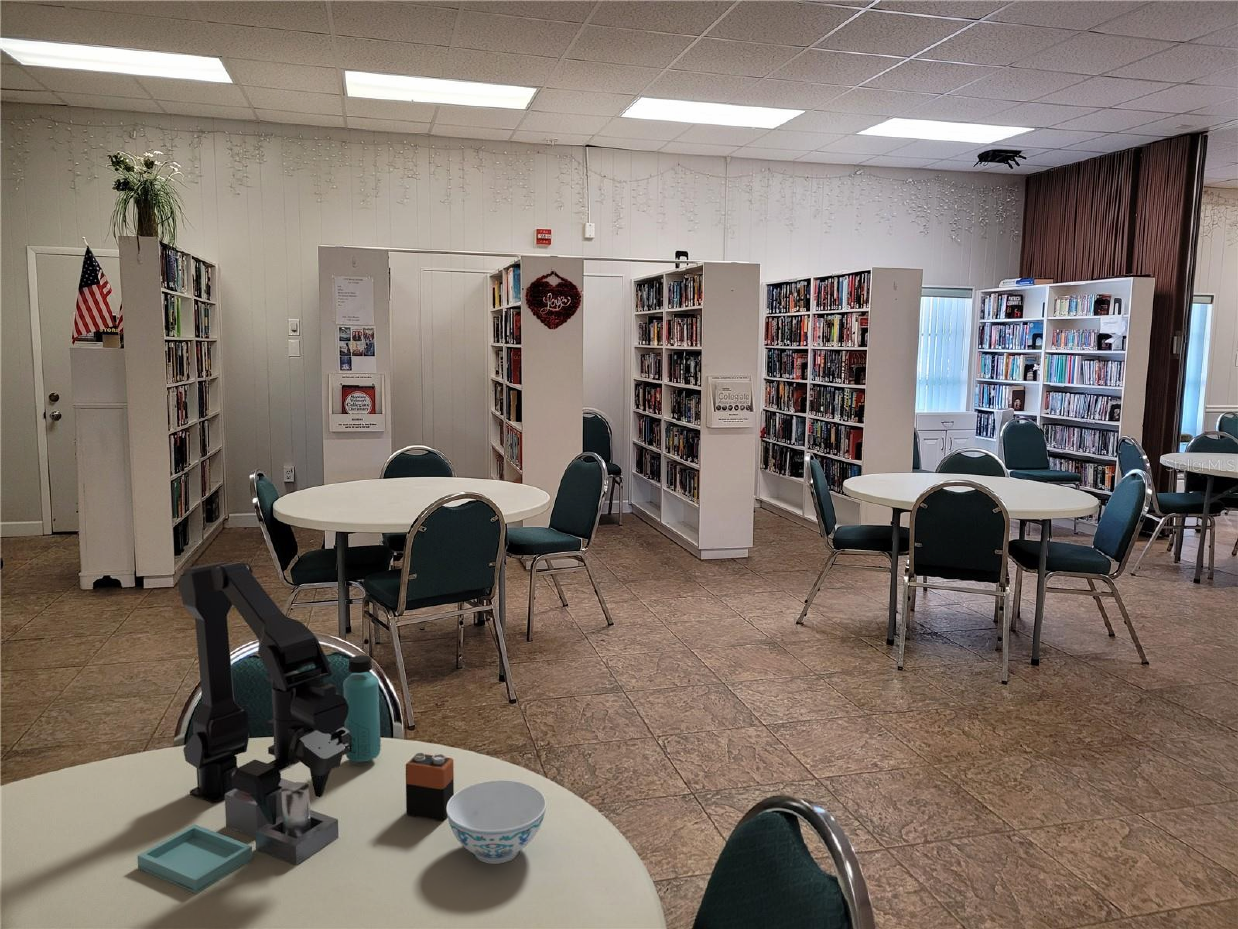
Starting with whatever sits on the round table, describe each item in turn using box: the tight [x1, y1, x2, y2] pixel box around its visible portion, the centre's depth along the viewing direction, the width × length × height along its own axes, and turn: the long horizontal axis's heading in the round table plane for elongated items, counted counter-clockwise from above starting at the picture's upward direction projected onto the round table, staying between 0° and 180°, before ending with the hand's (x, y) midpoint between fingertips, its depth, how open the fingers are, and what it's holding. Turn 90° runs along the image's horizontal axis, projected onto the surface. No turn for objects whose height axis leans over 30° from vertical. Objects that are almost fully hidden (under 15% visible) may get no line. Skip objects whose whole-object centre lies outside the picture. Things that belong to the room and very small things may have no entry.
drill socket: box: [254, 809, 339, 866], centre depth 138 cm, size 8×8×3 cm
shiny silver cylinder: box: [281, 781, 311, 839], centre depth 137 cm, size 4×4×9 cm
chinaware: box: [446, 779, 547, 865], centre depth 136 cm, size 15×15×8 cm
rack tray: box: [136, 824, 253, 894], centre depth 132 cm, size 13×10×2 cm
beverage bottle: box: [342, 654, 382, 763], centre depth 163 cm, size 6×7×20 cm
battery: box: [405, 752, 455, 822], centre depth 147 cm, size 4×7×10 cm, turn 75°
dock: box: [224, 777, 295, 838], centre depth 144 cm, size 7×8×6 cm
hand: (296, 810), depth 137 cm, fingers open, 9 cm apart
